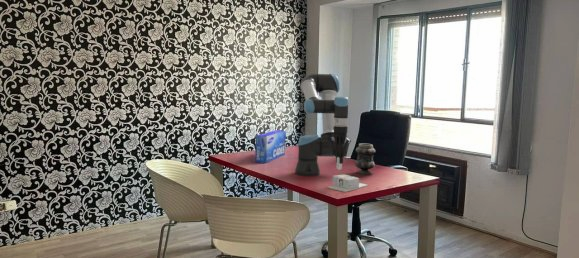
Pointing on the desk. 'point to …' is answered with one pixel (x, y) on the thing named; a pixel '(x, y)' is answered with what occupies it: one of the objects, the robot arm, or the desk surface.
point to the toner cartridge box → (270, 146)
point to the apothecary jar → (365, 158)
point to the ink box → (346, 181)
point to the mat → (346, 188)
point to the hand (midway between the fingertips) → (339, 169)
